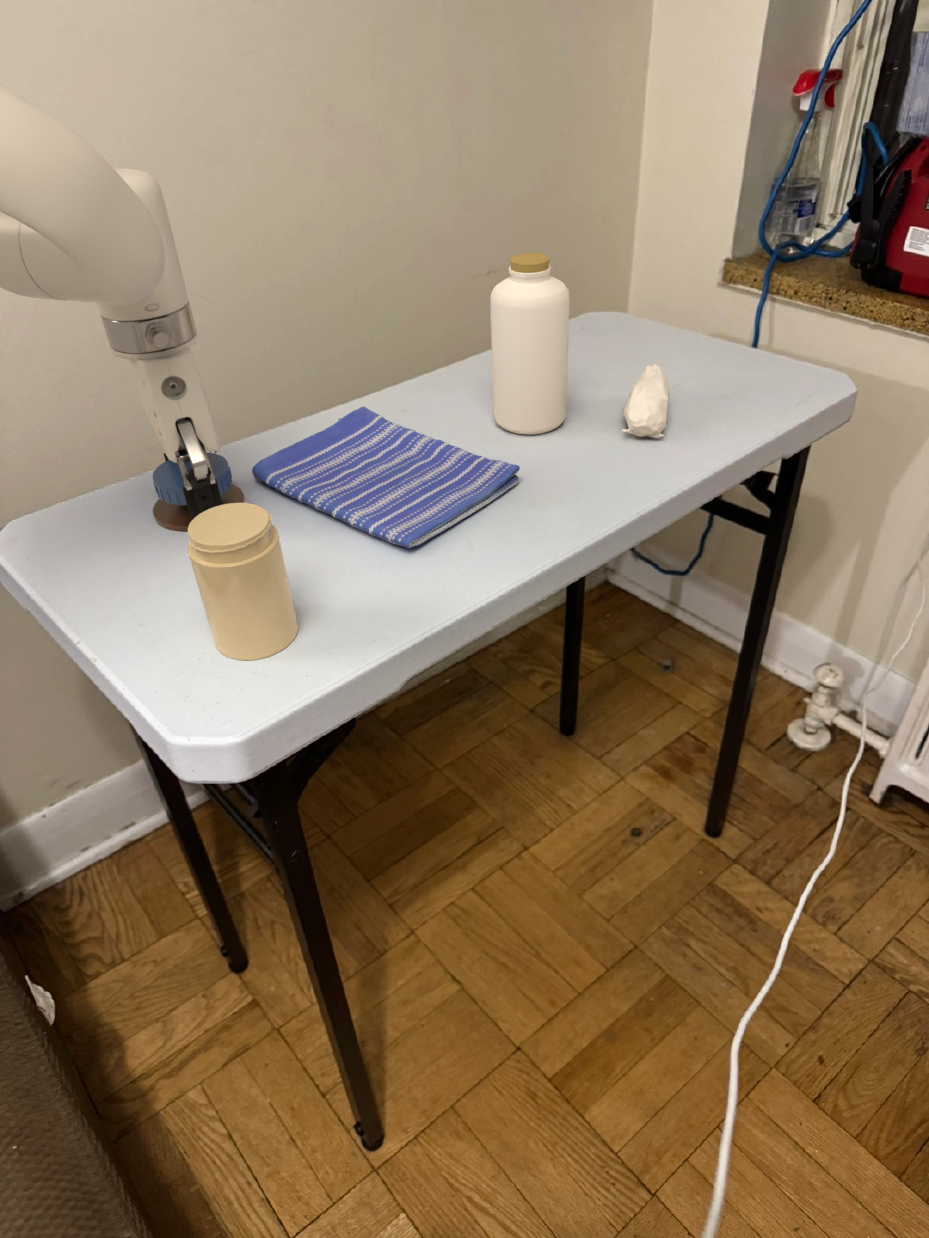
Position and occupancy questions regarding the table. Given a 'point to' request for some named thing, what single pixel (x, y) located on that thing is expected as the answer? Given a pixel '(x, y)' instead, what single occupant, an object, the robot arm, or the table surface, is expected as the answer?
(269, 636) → the jar
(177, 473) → the lid
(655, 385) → the bird figurine
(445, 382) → the table surface
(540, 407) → the potion bottle
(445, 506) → the dish towel
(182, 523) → the coaster
